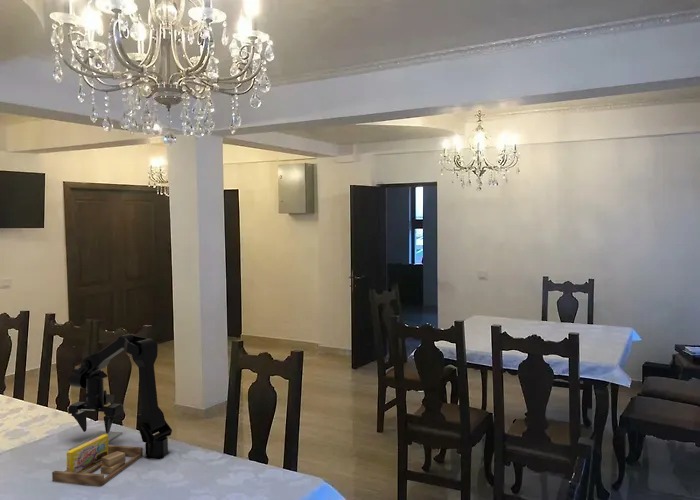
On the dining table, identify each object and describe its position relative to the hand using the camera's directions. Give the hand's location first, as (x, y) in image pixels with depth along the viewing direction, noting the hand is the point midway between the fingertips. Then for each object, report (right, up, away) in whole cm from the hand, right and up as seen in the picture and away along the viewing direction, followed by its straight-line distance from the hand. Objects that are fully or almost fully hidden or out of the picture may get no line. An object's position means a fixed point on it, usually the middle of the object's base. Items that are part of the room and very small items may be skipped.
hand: (96, 432), depth 202 cm
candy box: (+7, -5, -21) cm, 23 cm away
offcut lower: (+16, -5, -23) cm, 28 cm away
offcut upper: (+16, -2, -23) cm, 28 cm away
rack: (+11, -4, -22) cm, 25 cm away
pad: (0, -4, 0) cm, 4 cm away
